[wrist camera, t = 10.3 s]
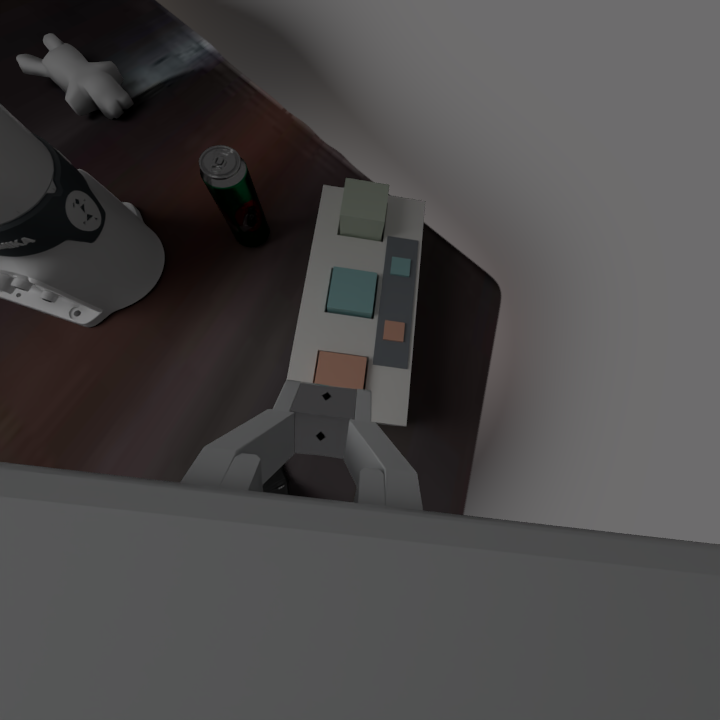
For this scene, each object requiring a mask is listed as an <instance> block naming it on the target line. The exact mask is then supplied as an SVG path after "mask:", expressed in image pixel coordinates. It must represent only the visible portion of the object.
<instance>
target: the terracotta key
mask: <svg viewBox="0 0 720 720" xmlns="http://www.w3.org/2000/svg"><path fill="white" fill-rule="evenodd" d="M366 360H367V357H360V356H353V355H346V354H339V353H332V352H324V351H320V352H319V358H318V364H317V370H316V377H315V383H316V384H323V385H329V386H336V387H344V388H352V389H363V385H364V377H365V369H366Z"/></svg>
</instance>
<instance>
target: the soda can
mask: <svg viewBox="0 0 720 720" xmlns="http://www.w3.org/2000/svg"><path fill="white" fill-rule="evenodd" d="M199 166H200V175H201V177H202V179H203V181H204V183H205V185H206V186H207V188H208V190H209V192H210V194H211V195H212V197H213V199H214V201H215V202H216V204H217V206H218V208H219V210H220V211H221V213H222V215H223V217H224V218H225V220H226V222H227V224H228V226H229V227H230V229H231V231H232V233H233V234H234V236H235V238H236V240H237V241H238V242H239V243H240V244H241V245H243V246H246V247H257V246H260V245H262V244H263V243H265V242H266V240H267V239H268V237H269V234H270V230H269V226H268V224H267V221H266V218H265V215H264V212H263V210H262V207H261V204H260V201H259V199H258V196H257V193H256V190H255V188H254V185H253V182H252V179H251V177H250V174H249V171H248V168H247V166H246V163H245V161H244V160H243V159H242V158H241V157H240V156H239V154H238V153H237V152H236V151H235V150H234V149H232V148H230V147H228V146H223V145H218V146H213V147H210V148H208V149H206V150H205V151H204V152H203V153H202V154H201V156H200V159H199Z"/></svg>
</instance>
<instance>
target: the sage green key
mask: <svg viewBox="0 0 720 720" xmlns="http://www.w3.org/2000/svg"><path fill="white" fill-rule="evenodd" d="M388 191H389V185H387V184H381V183H375V182H369V181H362V180H356V179H350V178H346V181H345V187H344V193H343V199H342V205H341V211H340V235H341V236H347V237H354V238H360V239H367V240H373V241H381V237H382V232H383V228H384V223H385V216H386V208H387V200H388Z"/></svg>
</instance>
